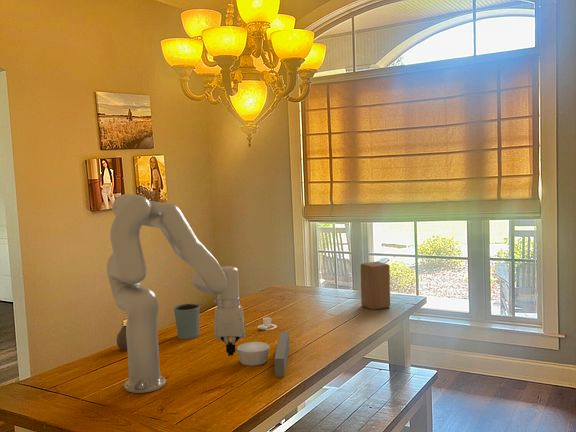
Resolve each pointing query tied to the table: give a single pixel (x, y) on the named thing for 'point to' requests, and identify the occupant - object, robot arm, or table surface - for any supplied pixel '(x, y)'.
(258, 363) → the ramekin
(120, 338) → the vase
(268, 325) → the white ring with peg
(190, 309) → the blue-grey plant pot
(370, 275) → the wooden block
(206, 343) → the table surface
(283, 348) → the board
